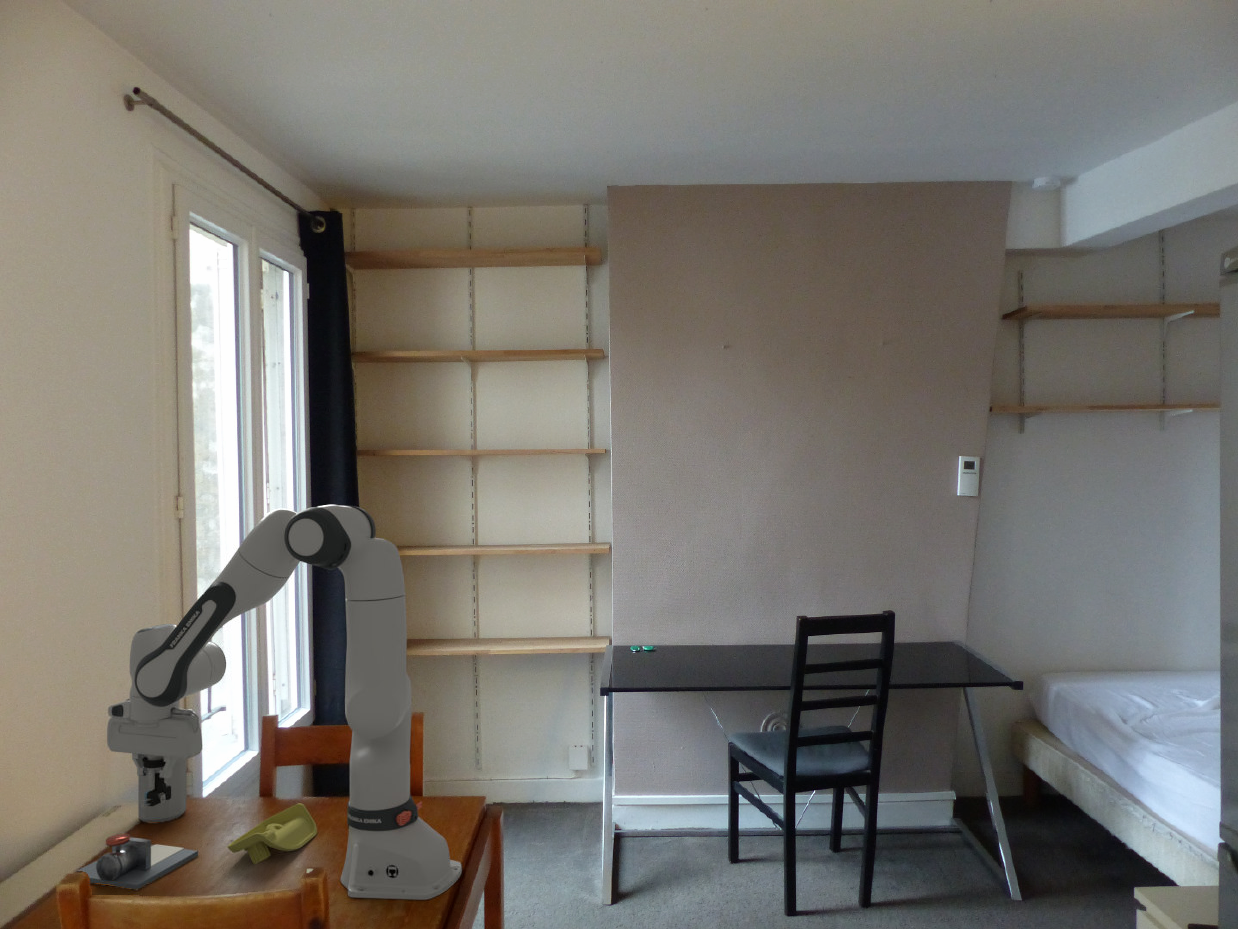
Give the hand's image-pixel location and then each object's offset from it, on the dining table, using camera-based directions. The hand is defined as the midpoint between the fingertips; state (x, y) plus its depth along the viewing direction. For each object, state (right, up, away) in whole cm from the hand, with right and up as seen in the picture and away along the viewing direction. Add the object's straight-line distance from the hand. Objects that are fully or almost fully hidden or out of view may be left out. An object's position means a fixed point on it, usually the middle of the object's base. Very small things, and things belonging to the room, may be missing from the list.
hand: (154, 776), depth 171 cm
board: (-2, -17, -4) cm, 17 cm away
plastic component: (+21, -17, +4) cm, 27 cm away
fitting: (-2, -16, -8) cm, 18 cm away
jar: (-10, -17, +22) cm, 30 cm away
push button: (0, -6, 0) cm, 6 cm away
